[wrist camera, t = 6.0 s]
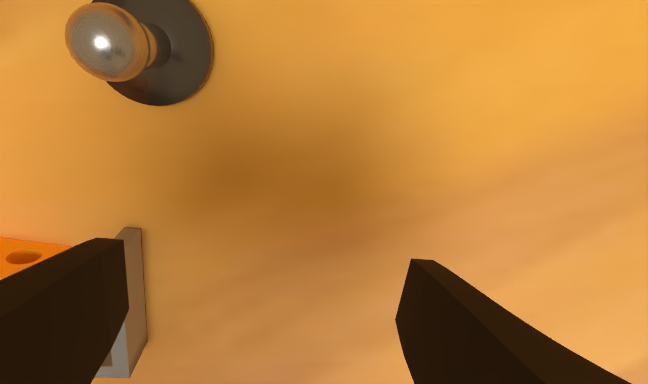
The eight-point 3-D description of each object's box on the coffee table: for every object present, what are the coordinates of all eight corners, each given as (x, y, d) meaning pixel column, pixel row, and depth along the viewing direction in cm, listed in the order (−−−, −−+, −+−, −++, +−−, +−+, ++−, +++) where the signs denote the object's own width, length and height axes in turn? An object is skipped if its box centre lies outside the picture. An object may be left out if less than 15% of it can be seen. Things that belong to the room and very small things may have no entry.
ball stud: (212, 109, 17) (179, 134, 12) (100, 96, 16) (13, 116, 11) (215, -9, 15) (177, -40, 10) (89, -30, 14) (-21, -74, 9)
